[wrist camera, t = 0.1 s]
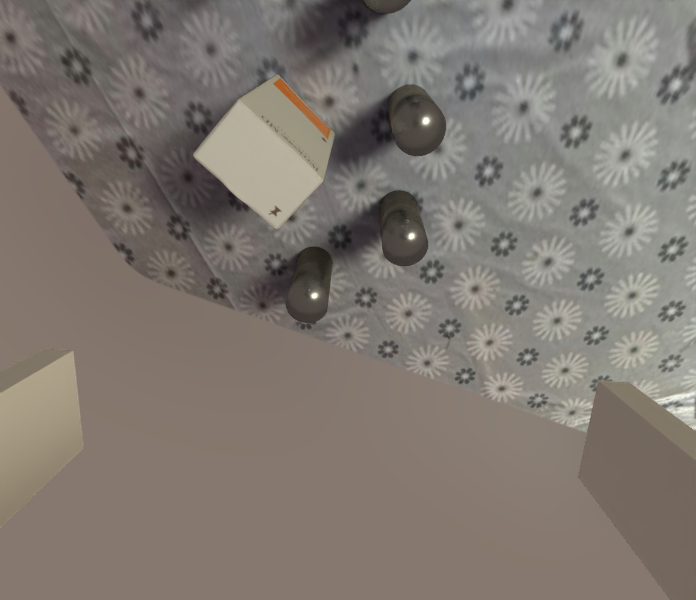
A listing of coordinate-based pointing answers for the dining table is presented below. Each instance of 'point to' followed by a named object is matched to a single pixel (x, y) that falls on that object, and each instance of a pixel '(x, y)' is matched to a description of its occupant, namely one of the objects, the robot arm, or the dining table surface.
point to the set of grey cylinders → (395, 208)
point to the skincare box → (269, 150)
